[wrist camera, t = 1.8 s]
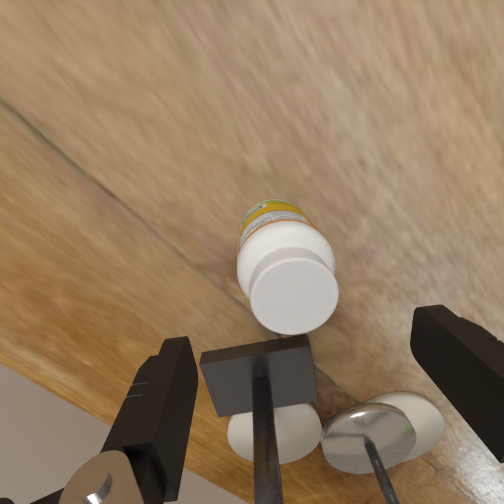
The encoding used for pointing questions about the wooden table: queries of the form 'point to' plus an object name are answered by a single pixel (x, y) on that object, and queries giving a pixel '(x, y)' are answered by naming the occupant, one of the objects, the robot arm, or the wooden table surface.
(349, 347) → the wooden table surface
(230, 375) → the balance
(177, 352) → the robot arm
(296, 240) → the supplement bottle
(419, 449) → the dish low side
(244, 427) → the dish high side
